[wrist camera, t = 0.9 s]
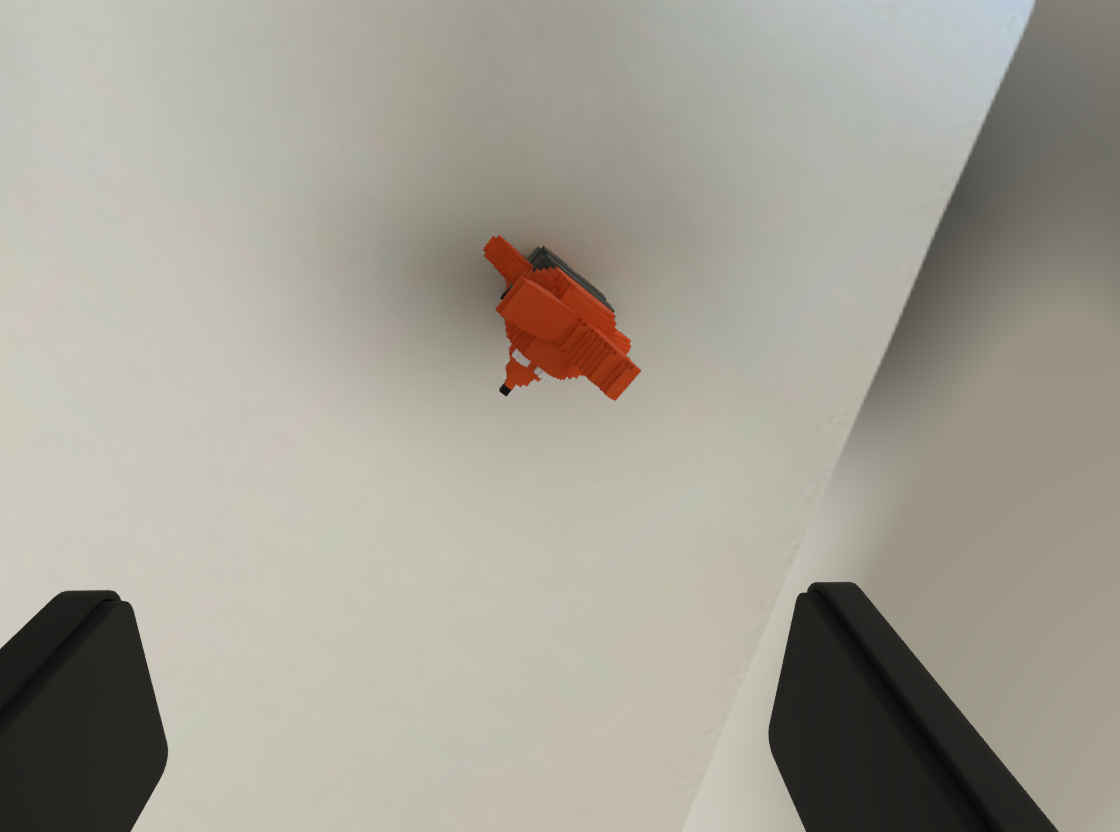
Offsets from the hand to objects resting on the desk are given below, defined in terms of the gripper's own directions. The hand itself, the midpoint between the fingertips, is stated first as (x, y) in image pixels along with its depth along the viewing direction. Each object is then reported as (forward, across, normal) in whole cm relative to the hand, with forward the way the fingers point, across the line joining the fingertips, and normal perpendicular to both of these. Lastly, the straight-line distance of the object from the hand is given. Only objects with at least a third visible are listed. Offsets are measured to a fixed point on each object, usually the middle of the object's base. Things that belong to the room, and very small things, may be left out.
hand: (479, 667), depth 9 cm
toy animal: (+27, -2, 0) cm, 27 cm away
